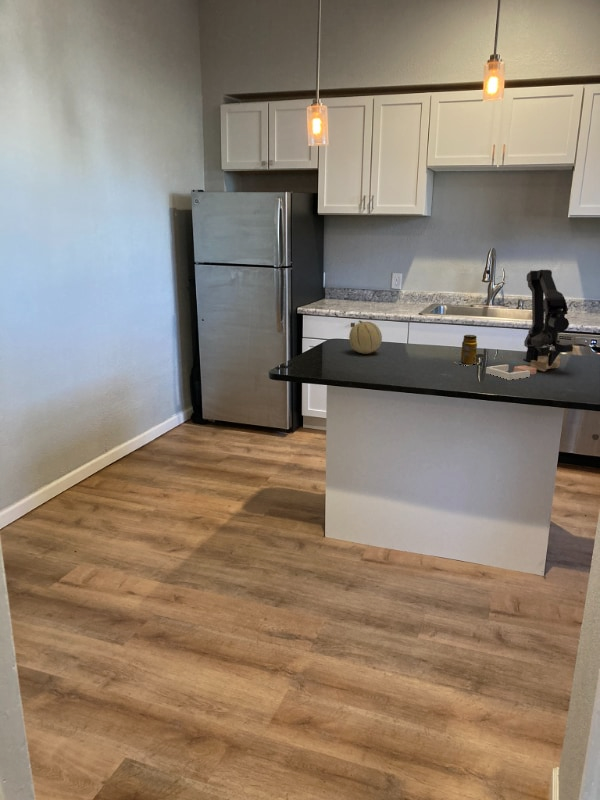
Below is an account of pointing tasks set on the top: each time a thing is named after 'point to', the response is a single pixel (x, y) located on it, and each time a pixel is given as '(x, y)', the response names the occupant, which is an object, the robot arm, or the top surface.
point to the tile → (525, 369)
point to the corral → (501, 372)
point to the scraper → (545, 363)
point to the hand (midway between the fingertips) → (546, 365)
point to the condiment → (468, 350)
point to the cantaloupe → (365, 337)
